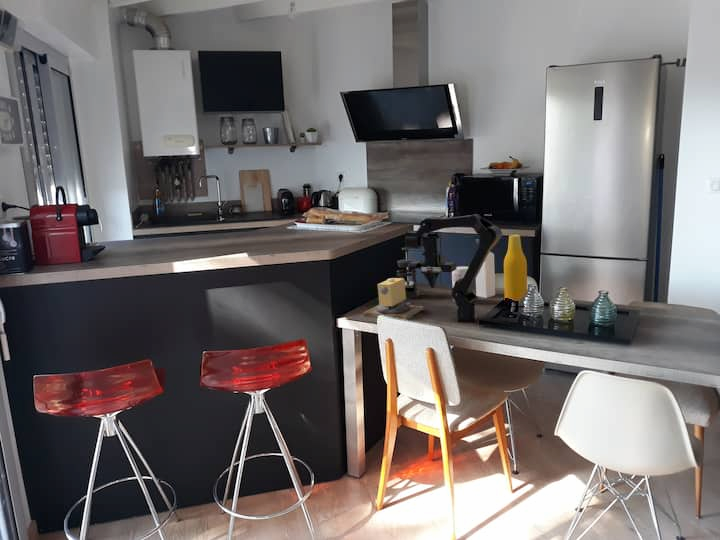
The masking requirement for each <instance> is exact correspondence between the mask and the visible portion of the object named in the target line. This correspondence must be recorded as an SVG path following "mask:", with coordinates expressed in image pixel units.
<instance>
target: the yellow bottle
mask: <svg viewBox="0 0 720 540" xmlns="http://www.w3.org/2000/svg"><path fill="white" fill-rule="evenodd" d="M507 245H508V247H507V252H506V255H504V256H505V257H504V259H503V281H504V282H503V283H504V284H503V285H504V288H503V289H504V299H505V298H509V299H512V300H514V301H520V299H522V298H523V297H524V296H525V294H526V292H527V293H528V264H527V258H526V256H525V254H524V251H523V248H522V243H521V235H520V234H511V235H509V236H508V244H507Z"/></svg>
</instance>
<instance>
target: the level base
mask: <svg viewBox="0 0 720 540" xmlns="http://www.w3.org/2000/svg"><path fill="white" fill-rule="evenodd" d="M423 309H425V308H424V306H423V305H411V302H410V301H406V302H405V301H401V302H399V303H398V304H396V305H394V306H380V305H379V304H378V305H376V306H373V307H372V308H369V309H367V310H365V311H363V313H362V314H363V317H368V318H369V317H370V318H372V317H373V318H378V317H377V316H378V315H380V314H383V315H388V316H393V317H399V318H406V319H407V318H408V317H410V316H412V315H414V314H416V313H417V312H419V311H421V310H422V311H424V310H423ZM422 311H421V312H422ZM419 313H420V312H419ZM417 314H418V313H417ZM417 314H416V315H417ZM414 316H415V315H414ZM412 317H413V316H412ZM407 320H408V319H407Z"/></svg>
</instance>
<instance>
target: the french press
mask: <svg viewBox="0 0 720 540" xmlns="http://www.w3.org/2000/svg"><path fill="white" fill-rule="evenodd" d="M401 250H403V251H404V252H405V259H400V260H397V262H396V263H397V265H398V268H406V269H402V270H396V271H395V272H396V273H395V274H396V276H395V278H404V277H407V280H405V293H406V299H405V300H408V299H407V298H414V299H417V298H419V297H420V295H419V288H417V287H418V285H417V283H418V282H417V275H418V270H417V269H416V270H415V271H412V270H408V264H409V263H411V262H414V261H417V259H413V258H411V259H409V258H408V255H407V254H408V250H409V249H407V248H406V247H401ZM409 277H412V280H409ZM418 296H419V297H418ZM416 297H417V298H416Z"/></svg>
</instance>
